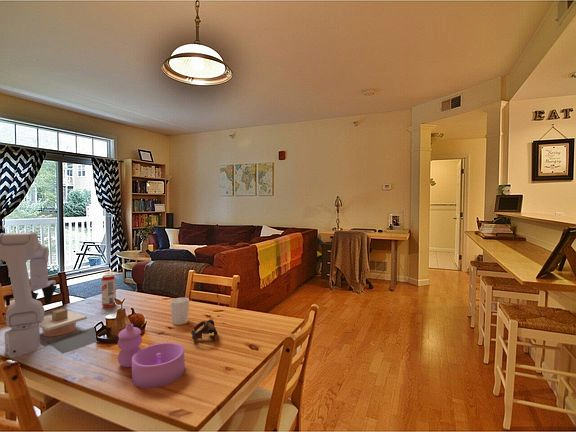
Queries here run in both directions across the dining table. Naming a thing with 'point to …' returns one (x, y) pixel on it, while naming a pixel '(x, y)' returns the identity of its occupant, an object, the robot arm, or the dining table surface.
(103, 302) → the beer can
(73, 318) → the lid
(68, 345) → the mat
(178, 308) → the white cup
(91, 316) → the dining table surface
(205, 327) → the dark brown arched piece
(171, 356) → the container set
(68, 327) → the bowl
